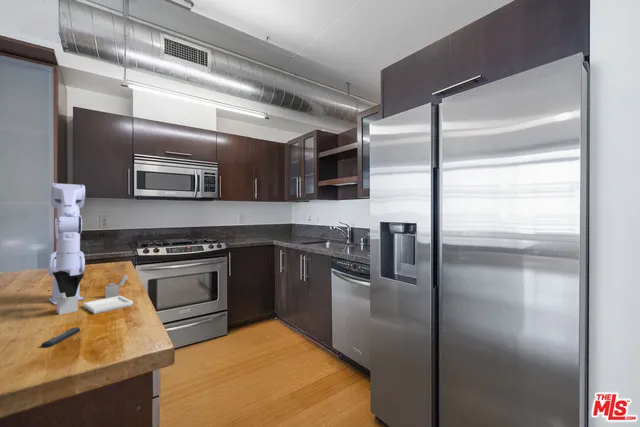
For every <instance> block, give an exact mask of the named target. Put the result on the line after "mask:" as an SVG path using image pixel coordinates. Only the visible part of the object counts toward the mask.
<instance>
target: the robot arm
mask: <svg viewBox="0 0 640 427" xmlns="http://www.w3.org/2000/svg"><path fill="white" fill-rule="evenodd" d="M85 199H86V186H85V185H84V184H76V183H75V184H73V183H55V182H52V183H50V203H51V206H52V207H53V208H55V209H57V210H56V211H57V212H56V213H57V214H56V218H55V220H54V232H55V240H56V242H55V244H56V246H55V247H56V249H55V250H56V251H54V252H52V253H51V254H50V255H49V260H48V273H47V274H48V276H50V277H52V278H53V279H52V284H51V297H49V298H47V299H48V301H49V302H50V303H52V304H53V305H57V297H60V296H62V294H65V295H66V297H67V298H68V297H73V296H75V295H77V296H78V301H81V300H84V297H83V296H81V295H80V292H81V291H80V288H81V286H80V284H81V281H82V279H83V278H84V276H85V274H84V273H85V270H86V259H85V253H84V252H83V251H81V234H82V231H83V218H82V215H80V214H81V213H80V212H81V211H80V209H81V208H83V207H84V206H85Z"/></svg>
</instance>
